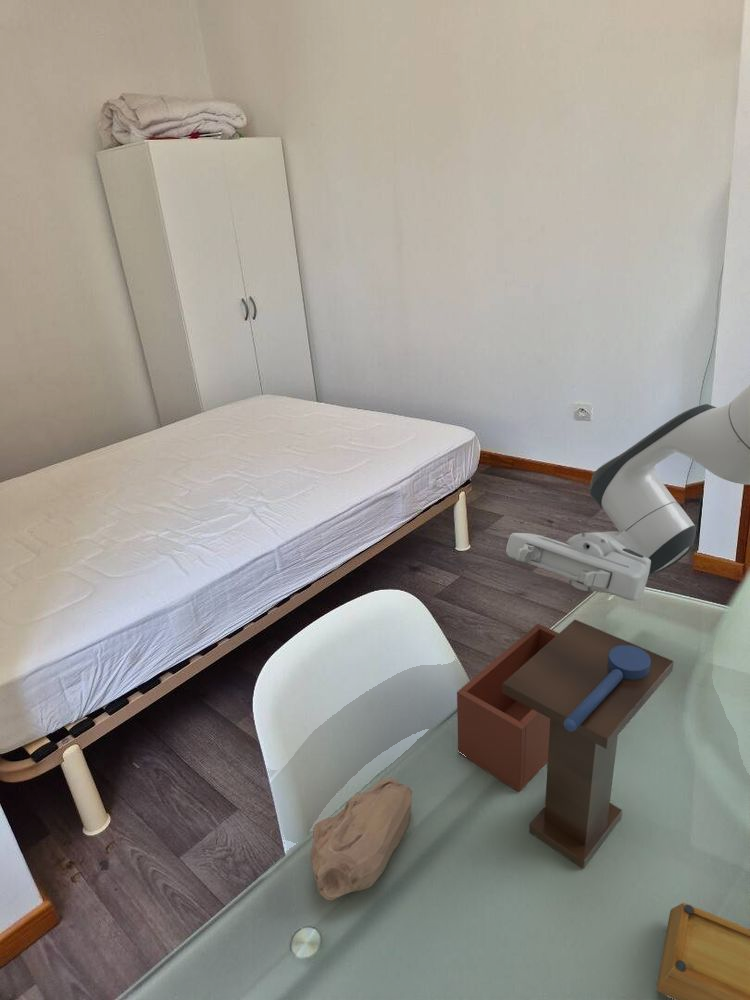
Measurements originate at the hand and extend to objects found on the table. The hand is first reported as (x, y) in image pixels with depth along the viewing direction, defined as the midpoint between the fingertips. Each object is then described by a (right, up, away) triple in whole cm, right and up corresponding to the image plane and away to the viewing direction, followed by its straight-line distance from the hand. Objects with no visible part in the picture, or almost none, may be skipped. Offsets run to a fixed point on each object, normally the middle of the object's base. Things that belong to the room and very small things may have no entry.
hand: (551, 566), depth 94 cm
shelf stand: (+3, -34, -3) cm, 34 cm away
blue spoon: (+1, -12, -17) cm, 21 cm away
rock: (-22, -35, -8) cm, 42 cm away
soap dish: (+13, -38, -23) cm, 46 cm away
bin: (0, -27, +13) cm, 30 cm away
